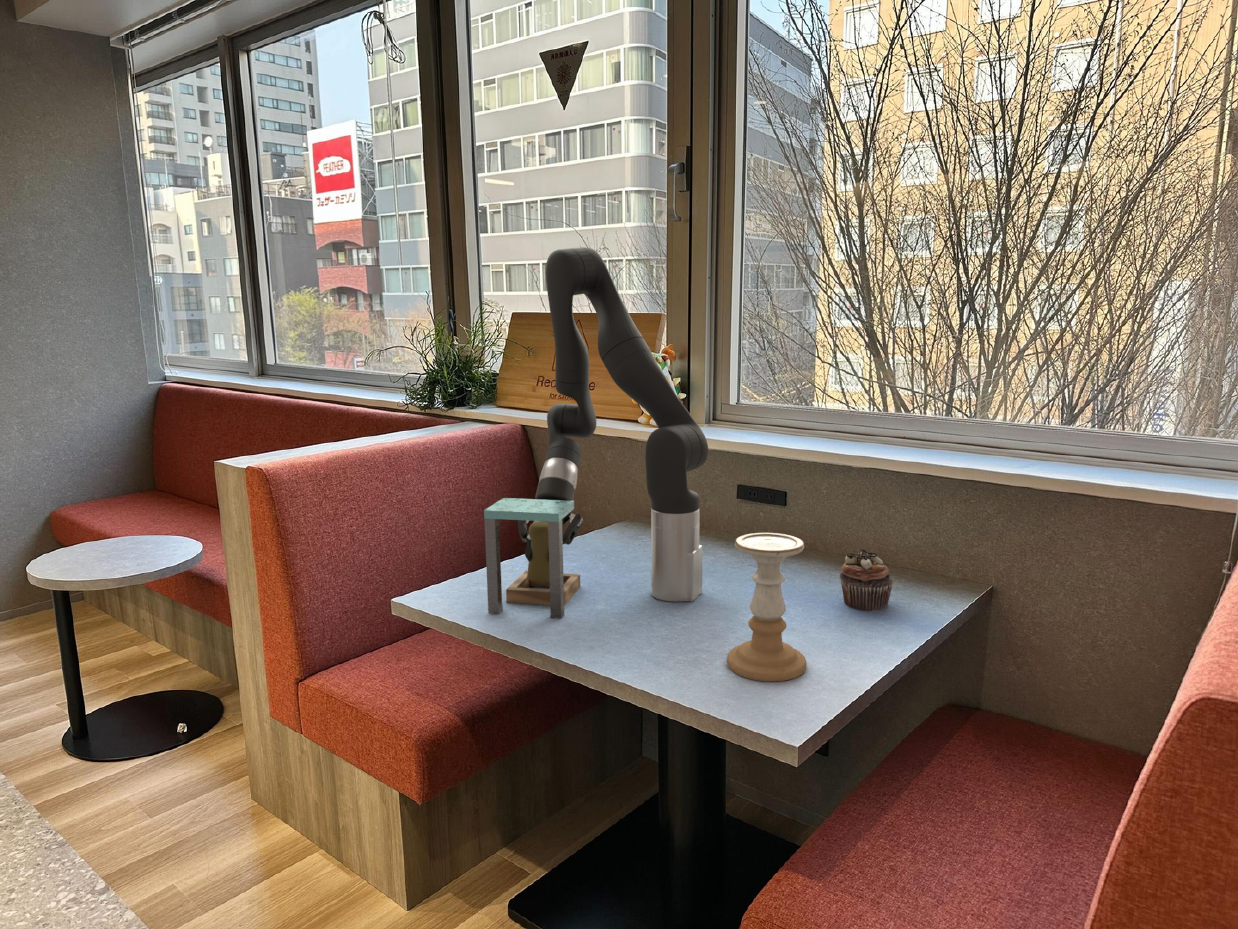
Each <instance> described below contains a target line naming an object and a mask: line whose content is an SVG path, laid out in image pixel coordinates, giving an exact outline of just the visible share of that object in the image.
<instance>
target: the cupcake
mask: <svg viewBox="0 0 1238 929" xmlns="http://www.w3.org/2000/svg"><path fill="white" fill-rule="evenodd" d="M844 561H845V562H844V564H842V566H841V568H840V570H841V572H840V575H839V580H840V584H841V589H842V597H843V602H844V605H845V606H847V607H848V608H850V609H851V608H852V609H854V610H858V611H862V612H864V611H866V612H879V611H882V610H883V611H884V610H885V609H887V608H888V605H889V600H890V596H891V592H892V589H893V586H894V580H893V579H892V578H891V576H890V574H889V573H890V569H889V568H888V567H887V566H886V565H885V564H884V562H883V560H882V559H880V557H879V556H878V555H877V553H876V552H868V551H866V550H865V549H860V551H859V552H858V553H847V554H846V556H845V560H844Z"/></svg>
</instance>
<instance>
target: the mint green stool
mask: <svg viewBox="0 0 1238 929" xmlns="http://www.w3.org/2000/svg"><path fill="white" fill-rule="evenodd" d="M573 510H575V500H573V501H564V500H541V499H535V498H534V499H533V498H516V497H515V498H514V497H513V498H511V497H503V498H501V499H500V500H497V501H496V502H495V503H493V504H492V505H490V506H489V507H487V508H485V509H484V510H483V513H484V514H483V516H484V517H483V519H484V538H485V561H486V562H485V564H486V586H487V587H486V588H487V589H486V590H487V591H486V592H487V610H488V611H487V612H488V614H494V615H495V614H497V615H499V614H500V613H501V612H502V611H503V593H502V591H503V590H502V568H501V567H502V566H501V565H502V564H501V562H502V561H501V542H500V539H501V537H500V536H501V535H500V520H512V521H513V520H514V521H517V520H529V521H533V522H534V521H548V538H549V575H550V587H549V590H550V605H549V606H550V607H549V608H550V611H549V612H550V619H551V618H553V619H562V618H563V617H564V616H565V606H564V579H563V573H564V544H563V536H562V535H563V526H562V519H563V518H564V517H565V516H566V515H567V514H569V513H570V512H571V513H572V511H573ZM563 615H564V616H563ZM562 616H563V617H562Z"/></svg>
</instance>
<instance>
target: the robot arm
mask: <svg viewBox="0 0 1238 929" xmlns="http://www.w3.org/2000/svg"><path fill="white" fill-rule="evenodd" d="M545 264H546V265H545V284H546V292H547V298H548V305H549V313H550V318H551V320H550V321H551V326H552V331H553V332H552V333H553V338H554V352H555V377H554V378H555V381H554V382H555V385H554V386H555V390H556V392H557V393H558V394H560V395H563V396H565V397H568V398H571V399H573V400H574V401H575V403H576V404H574V403H573V404H570V403H555V404H553V405H552V406H551V407H550V408H549V409H548V412H547V415H546V424H547V433H548V445H547V453H546V456H545V460H544V464H543V467H542V470H541V471H540V472H541V473H540V475H539V481H538V484H537V489H536V492H535V498H534V499H541V500H564V501H574V495H575V492H576V489H577V482H578V472H579V466H580V461H581V458H582V457H581V456H582V447H581V444H580V443H578V442H577V441H576V440H574V439H572V438H578V439H588V438H590V437H591V436H592V435H593V434H594V433H595V431H596V428H597V416H596V413H595V409H594V406H593V402H592V401H593V400H592V397H591V392H590V383H589V382H590V380H589V379H590V356H589V350H588V347H587V344H586V342H585V339H584V338H583V337H582V334H581V333H580V330H579V328H578V326H577V323H576V322H575V317H574V312H573V310H574V309H573V302H574V296H579V295H585V296H586V297H587V298H588V300H589V301H590V304H591V305H592V307H593V309H594V311H595V314H596V315H597V319H598V320H597V321H598V330H597V331H598V332H597V349H598V354H599V357H600V359H601V362H602V363H603V365H604V367H605V369H606V371H607V372H608V374H609V376H610V378H612V381H613V382H614V383H615V385H616V386H617V387H618V388H619V389H620V390H621V391H623V392H624V393H625V394H626V395H627V396H629V398H631V399H632V400H633V401H634V402H636V403H637V404H638V405H639V406H640V407H642V409H644V410H645V411H646V412H647V413H648V414H649V416H650V417H651V418H652V420H653V421H654V423H655V425H656V426H657V428H656V429H654V430H653V431H652V432H651V433H650V434H649V435H648V436H649V437H648V438H647V441H646V444H645V452H644V453H645V454H644V455H645V476H646V478H645V479H646V488H647V489H646V490H647V493H648V496H649V498H650V503H651V504H650V506H651V508H650V510H651V512H650V516H651V517H650V519H651V521H650V523H651V525H650V526H651V527H650V528H651V530H650V531H651V536H650V537H651V542H650V543H651V548H650V550H651V553H650V554H651V556H650V557H651V559H650V560H651V581H650V582H651V583H650V584H651V595H652V597H654V598H656V599H657V600H661V601H666V602H684V601H685V602H687V601H688V602H694V601H695V600H696V599H697V598H698V597H699V596H700V595H701V594H702V592H703V545H702V544H700V507H701V506H700V502H701V500H700V495H699V494H698V493H697V492H696V491H694V490H691V489H689V487H688V479H687V476H688V475H687V473H688V472H689V471H693V470H697V469H699V468H701V467H702V466H703V465H704V464H705V463H706V462H707V459H708V455H709V444H708V441H707V438H706V436H705V434H704V432H703V430H702V428H701V427H700V426H699V424H698V423H697V421H696V420H695V419H694V418H693V416H692V415H691V413H690V411H688V409H687V408H686V406H685V405H684V404H683V402H682V401H681V400H680V398H679V397H678V395H677V394H676V391H675V390H674V389H673V387H672V385H671V384H670V381H668V380H669V379H667V377H666V375H665V373H664V372H663V370H662V369H661V367H660V365H659V363H658V361H657V360H656V358H655V356H654V354H653V352H652V351H651V349H650V347H649V345H648V344H647V342H646V340H645V338H644V337H643V335H642V334H641V332H640V330H639V329H638V328H637V326H636V324H635V322H634V321H633V319H632V317H631V315H630V313H629V311H628V308H627V307H626V305H625V303H624V301H623V300H622V298H621V295H620V293H619V291H618V289H617V287H616V284H615V283H614V280H613V278H612V276H611V273H610V272H609V269H608V267H607V264H606V262H605V261H604V259H603V257H602V256H601V255H600V253H598V252H597V250H595V249H594V248H591V247H586V246H585V247H582V246H581V247H573V248H561V249H557V250H554V251H552V252H551V253H550V254H549V256H548V258H547V260H546V263H545ZM516 521H517V527H518V532H519V533H518V534H519V537H520V538H521V541H522V542H524V543H526V546H525V549H524V556H525V558H526V559H527V561H528V563H529V562H530V561H531V554H532V548H531V540H532V539H531V538H530V536H529V532H528V526H527V524H528V523H529V520H516ZM534 522H539V521H533V522H532V523H534ZM546 522H548V521H546ZM568 522H569V525H568V526H567V528H566V529H565V531H564V533H562V536H563V545H568V546H569V545H571V544H572V542H573V541H574V539H575V538H576V536H577V534H578V533H579V531H580V529H581V528H582V527H583V524H584V521H583V517H582V515H581V514H580V513H576V514H574V513H572V511H571V512H570V513H569V514H567V515H566V516H565V517H564V518H563V519H562V527H564V526H565V525H566V524H567V523H568ZM548 560H549V556H548Z"/></svg>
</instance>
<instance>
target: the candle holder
mask: <svg viewBox="0 0 1238 929" xmlns="http://www.w3.org/2000/svg"><path fill="white" fill-rule="evenodd" d="M734 546H735V549H736V550H738V552H741V553H743V554H745V555H749V556H751V557H752V559H753V560H754V561H755V562H756V565H757V566H756V567H757V568H756V571H755V572H754V573H753V574H752V575H751V580H752V581H753V582H755V587H754V591H753V595H752V597H751V601H750V604H749V610H750V613H751V614H752V617H751V618H750V619H749V620H748V622H747V624H748V627H749V629H750V630H751V631H752V635H751V640H747V641H744V642H742V643H741V644H740V645H736V646H735V647H733V648H732V649H730V650H729V651H728V653H727V655H726V663H727V667H728V668H729V669H730V670H731V672H734V674H736V675H738V676H740V677H744V678H746V679H751V680H754V681H761V682H783V681H788V680H789V681H790V680H794V679H796V678H799V677H800V676H801V675H803V674H804V673H805V672H806V669H807V663H808V662H807V659H806V656H805V655H804V654H803V653H802V652H801V651H800V650H798V649H796V648H794V647H793V646H792V645H790V644H789V643H787V642H783V635H782V633H783V632H784V631H785V630H786V629H787V625H788V624H787V622H786V620H784V619H783V616H784V615H785V613H786V609H787V608H786V607H787V606H786V603H785V600H784V596H783V592H782V584H783V583H784V582H785V580H786V576H785V575H784V574H783V573H782V572H781V564H782V563H783V562H784V561H785V560H786V558H787V557H792V556H796V555H798V554H801V553H803V550H804V548H805V543H804V541H803V540H802V539H801V538H798V537H796V536H793V535H789V534H785V533H778V532H754V533H753V532H752V533H751V532H750V533H746V534H743V535H740V536H738V537H736V539H735V541H734Z"/></svg>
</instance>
